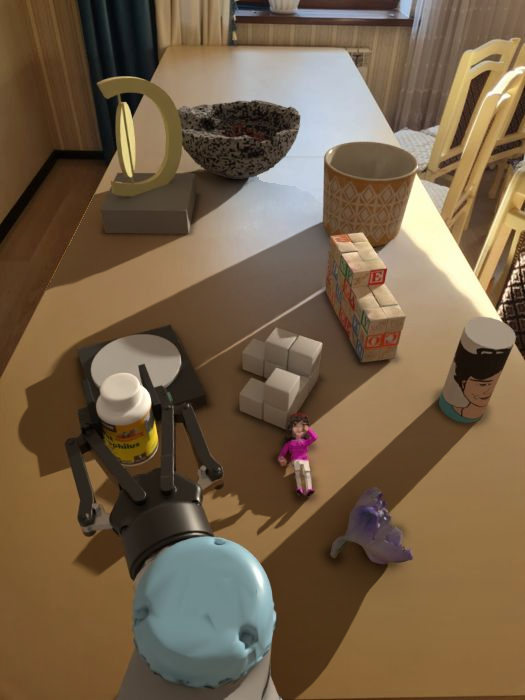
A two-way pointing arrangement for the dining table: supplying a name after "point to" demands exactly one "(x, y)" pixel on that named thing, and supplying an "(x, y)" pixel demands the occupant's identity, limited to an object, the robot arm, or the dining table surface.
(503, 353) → the illustrated cylindrical canister
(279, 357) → the white cube cluster
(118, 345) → the kitchen scale
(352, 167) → the planter
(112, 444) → the supplement bottle
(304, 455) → the character figurine
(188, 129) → the bowl
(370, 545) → the flower
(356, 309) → the stack of blocks
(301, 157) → the dining table surface
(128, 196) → the trophy
